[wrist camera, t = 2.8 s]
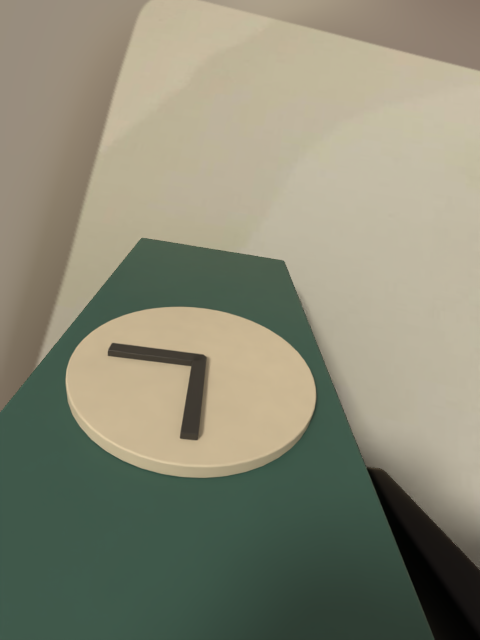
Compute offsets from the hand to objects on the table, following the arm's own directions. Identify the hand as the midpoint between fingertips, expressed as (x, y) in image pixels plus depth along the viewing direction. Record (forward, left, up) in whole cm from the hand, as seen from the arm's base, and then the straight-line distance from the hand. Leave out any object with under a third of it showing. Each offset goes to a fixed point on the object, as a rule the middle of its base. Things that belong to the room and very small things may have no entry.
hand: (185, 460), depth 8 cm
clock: (+1, +1, -9) cm, 9 cm away
